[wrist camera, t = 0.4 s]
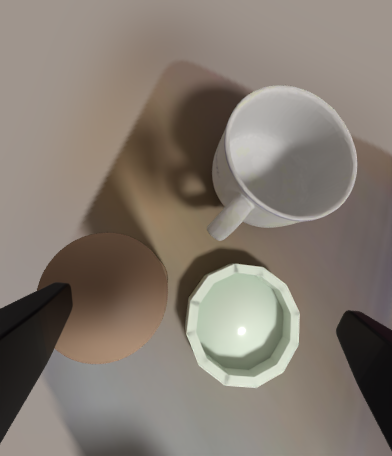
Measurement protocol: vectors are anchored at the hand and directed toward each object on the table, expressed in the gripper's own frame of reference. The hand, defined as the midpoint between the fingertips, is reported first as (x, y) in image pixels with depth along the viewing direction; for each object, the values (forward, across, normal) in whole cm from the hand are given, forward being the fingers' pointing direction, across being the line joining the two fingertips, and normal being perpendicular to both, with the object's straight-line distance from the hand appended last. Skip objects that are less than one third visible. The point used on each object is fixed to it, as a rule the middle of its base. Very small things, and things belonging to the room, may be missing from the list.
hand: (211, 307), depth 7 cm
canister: (+12, +4, +8) cm, 15 cm away
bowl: (+10, -5, +11) cm, 16 cm away
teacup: (+18, -5, 0) cm, 18 cm away
